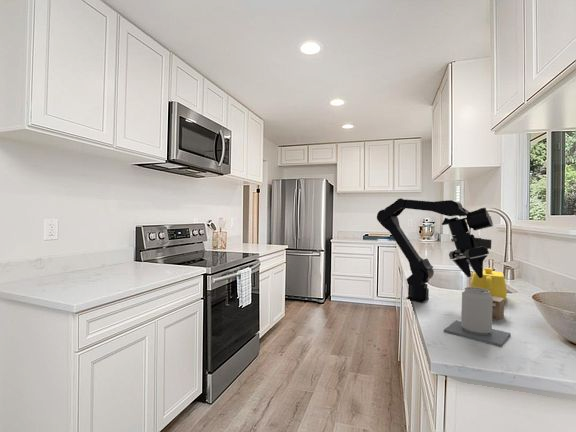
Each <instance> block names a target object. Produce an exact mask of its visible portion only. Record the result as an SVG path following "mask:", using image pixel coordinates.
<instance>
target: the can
mask: <svg viewBox="0 0 576 432" xmlns="http://www.w3.org/2000/svg"><path fill="white" fill-rule="evenodd" d="M492 306H493V297H492V296H491V294H490V291H489V290H487V289H483V288H477V287H471V286H468V287H467V286H466V287H465V288H464V291H463V292H461V319H460V320H461V326H462V327H463V328H464V330H465V331H467V332H469V333H472V334H477V335H487V334H488V333H490V332H491V331H492V329H493V319H492Z"/></svg>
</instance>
